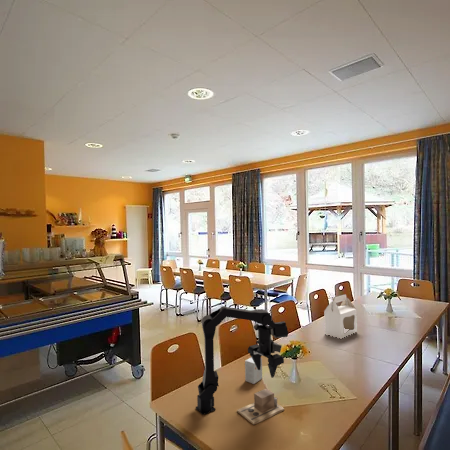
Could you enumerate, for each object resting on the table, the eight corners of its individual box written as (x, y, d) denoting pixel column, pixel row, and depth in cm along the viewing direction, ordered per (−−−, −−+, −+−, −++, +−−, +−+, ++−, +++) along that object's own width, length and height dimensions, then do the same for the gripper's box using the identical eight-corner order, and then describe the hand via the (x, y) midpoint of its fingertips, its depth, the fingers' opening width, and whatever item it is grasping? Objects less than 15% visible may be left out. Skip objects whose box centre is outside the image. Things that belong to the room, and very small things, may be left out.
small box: (253, 375, 165) (253, 355, 165) (262, 378, 161) (262, 358, 161) (244, 381, 159) (244, 360, 159) (254, 384, 155) (253, 363, 155)
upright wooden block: (262, 412, 129) (261, 398, 129) (254, 407, 133) (254, 393, 134) (274, 407, 133) (274, 393, 133) (266, 402, 137) (266, 388, 138)
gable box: (340, 328, 240) (339, 292, 241) (357, 332, 230) (356, 294, 231) (324, 334, 226) (323, 296, 227) (341, 339, 216) (340, 299, 217)
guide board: (253, 424, 123) (253, 415, 123) (237, 411, 132) (236, 402, 132) (284, 410, 132) (284, 401, 133) (266, 398, 142) (266, 390, 142)
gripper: (292, 340, 136) (293, 376, 136) (264, 329, 151) (265, 361, 151) (273, 346, 130) (274, 384, 129) (246, 334, 145) (247, 367, 145)
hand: (265, 373), depth 139 cm, fingers open, 9 cm apart
